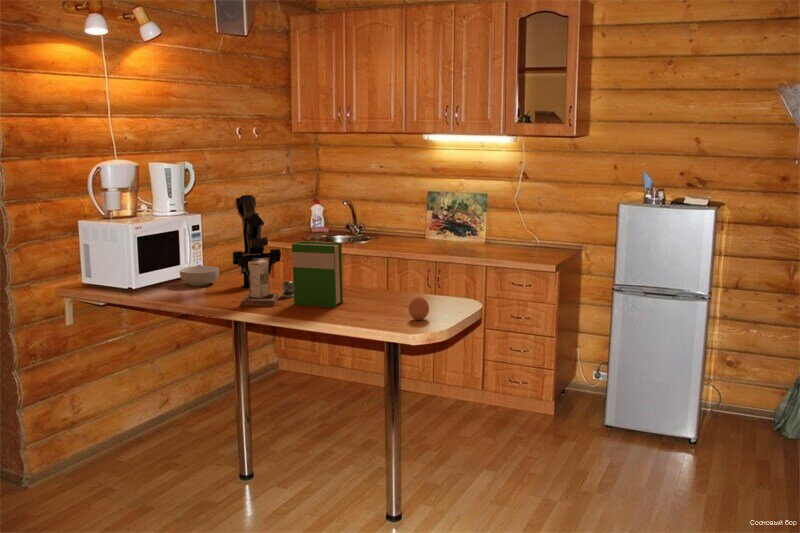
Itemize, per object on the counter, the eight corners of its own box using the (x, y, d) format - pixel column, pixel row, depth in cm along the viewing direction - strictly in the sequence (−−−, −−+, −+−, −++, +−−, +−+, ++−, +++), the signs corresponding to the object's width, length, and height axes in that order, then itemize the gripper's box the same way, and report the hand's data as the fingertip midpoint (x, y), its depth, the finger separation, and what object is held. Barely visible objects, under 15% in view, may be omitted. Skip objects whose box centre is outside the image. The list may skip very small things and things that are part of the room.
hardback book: (343, 303, 306) (341, 243, 302) (335, 307, 300) (333, 246, 295) (302, 300, 312) (300, 241, 308) (294, 304, 305) (291, 244, 301)
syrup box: (258, 294, 313) (256, 258, 310) (270, 295, 310) (268, 259, 307) (249, 297, 308) (247, 261, 305) (261, 298, 305) (259, 262, 302)
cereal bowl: (191, 290, 334) (190, 274, 333) (173, 284, 346) (172, 269, 345) (226, 284, 345) (225, 268, 344) (208, 279, 358) (207, 263, 356)
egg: (429, 317, 283) (429, 294, 281) (429, 322, 276) (428, 298, 274) (409, 317, 283) (408, 294, 282) (408, 322, 276) (408, 298, 275)
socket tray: (246, 299, 315) (246, 294, 315) (278, 298, 316) (277, 293, 315) (241, 307, 302) (241, 301, 302) (274, 306, 303) (274, 300, 303)
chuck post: (286, 294, 324) (285, 280, 323) (299, 295, 321) (298, 280, 320) (279, 297, 318) (278, 282, 317) (291, 298, 316) (291, 283, 315)
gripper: (231, 231, 305) (235, 264, 297) (279, 228, 310) (284, 261, 302) (230, 247, 314) (234, 280, 306) (277, 245, 319) (282, 276, 311)
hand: (259, 274), depth 306 cm, fingers closed on syrup box, 8 cm apart
